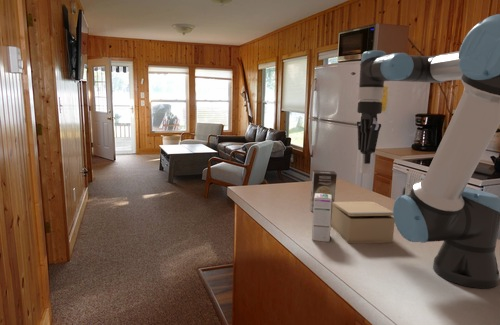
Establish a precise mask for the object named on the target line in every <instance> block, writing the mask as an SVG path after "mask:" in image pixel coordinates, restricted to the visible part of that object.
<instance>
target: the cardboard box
mask: <svg viewBox="0 0 500 325" xmlns="http://www.w3.org/2000/svg"><path fill="white" fill-rule="evenodd" d="M331 228H333V230H335V232H337V233H338V234H339V236H341V237H342V239H343V240H345V242H346V243H348V244H371V243H372V244H374V243H375V244H376V243H379V244H380V243H393V242H394V232H395V221H394V216H393V215H392V216H349V215H348V214H346V213H345V212H343V211H342V210H340V209H339V208H337V207H336V206H334V205H333V204H332V213H331Z"/></svg>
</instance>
